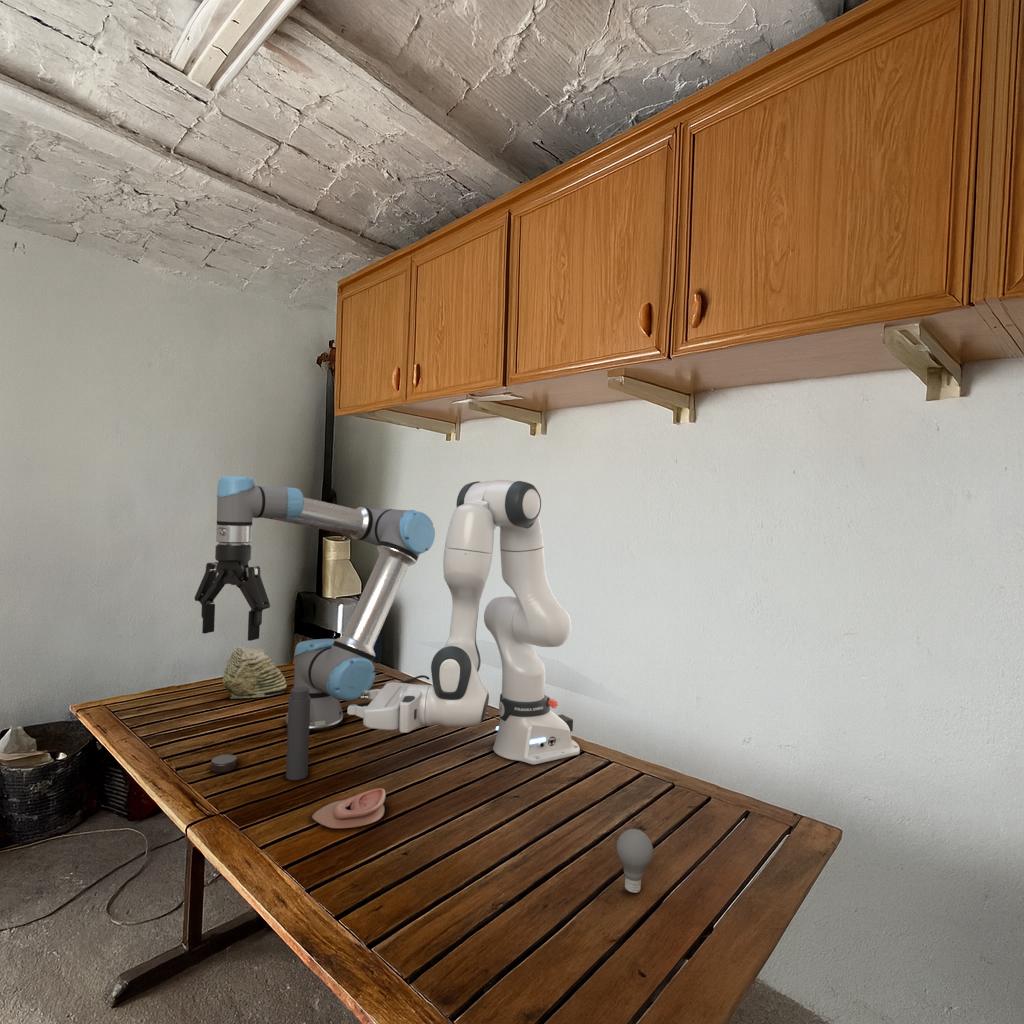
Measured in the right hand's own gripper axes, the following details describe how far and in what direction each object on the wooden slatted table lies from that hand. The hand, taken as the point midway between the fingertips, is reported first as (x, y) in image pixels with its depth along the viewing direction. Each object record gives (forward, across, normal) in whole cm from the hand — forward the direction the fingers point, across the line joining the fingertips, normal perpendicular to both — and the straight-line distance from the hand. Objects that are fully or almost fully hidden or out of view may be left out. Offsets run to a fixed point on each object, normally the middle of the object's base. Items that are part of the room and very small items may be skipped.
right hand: (355, 701), depth 142 cm
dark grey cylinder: (+13, +1, +17) cm, 22 cm away
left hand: (+30, -2, -13) cm, 33 cm away
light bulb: (-58, +34, +18) cm, 70 cm away
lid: (+31, -1, +15) cm, 34 cm away
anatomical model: (-4, +17, +17) cm, 24 cm away
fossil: (+48, -52, +18) cm, 73 cm away
